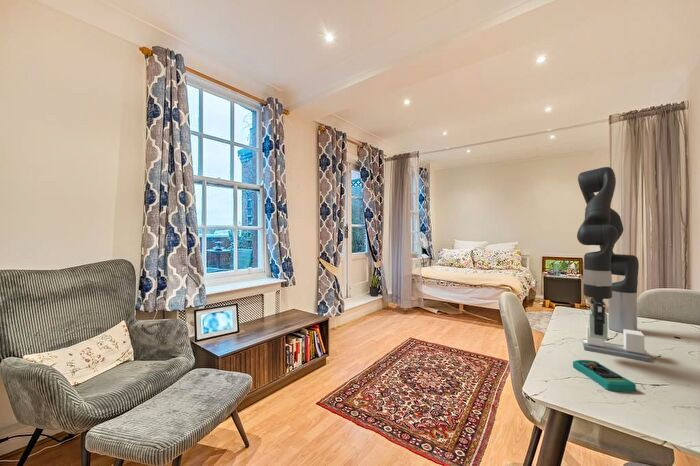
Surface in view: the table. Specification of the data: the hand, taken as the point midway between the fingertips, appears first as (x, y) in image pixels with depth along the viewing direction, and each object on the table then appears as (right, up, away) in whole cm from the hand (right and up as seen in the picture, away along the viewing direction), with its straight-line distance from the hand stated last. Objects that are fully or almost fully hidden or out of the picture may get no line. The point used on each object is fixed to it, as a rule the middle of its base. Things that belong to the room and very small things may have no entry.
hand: (597, 332), depth 99 cm
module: (0, -1, 0) cm, 1 cm away
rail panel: (+11, -9, +6) cm, 15 cm away
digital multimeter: (-11, -10, -14) cm, 20 cm away
